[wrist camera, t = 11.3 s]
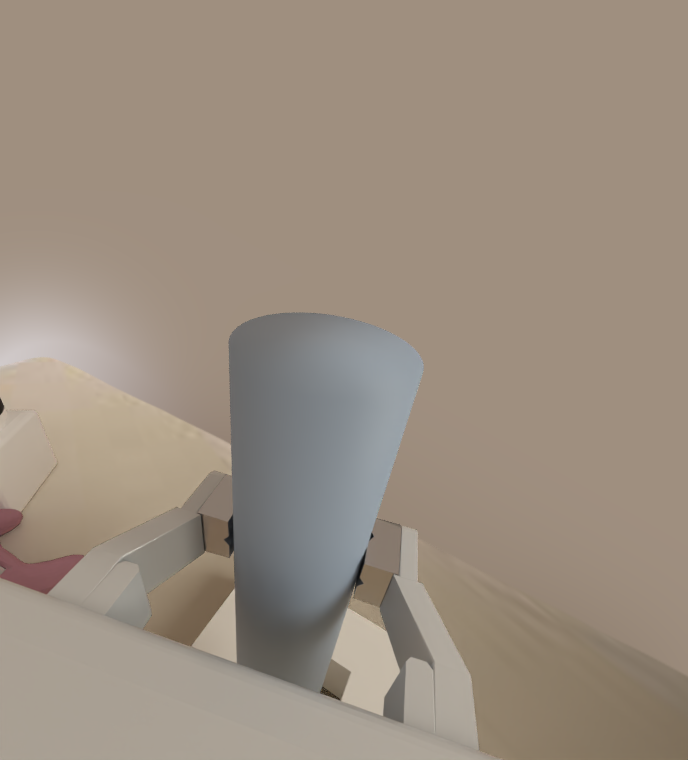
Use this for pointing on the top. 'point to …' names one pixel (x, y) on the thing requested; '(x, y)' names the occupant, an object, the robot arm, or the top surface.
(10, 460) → the medicine bottle
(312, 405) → the peg
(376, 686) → the socket block
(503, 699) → the top surface
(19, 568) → the video game controller
